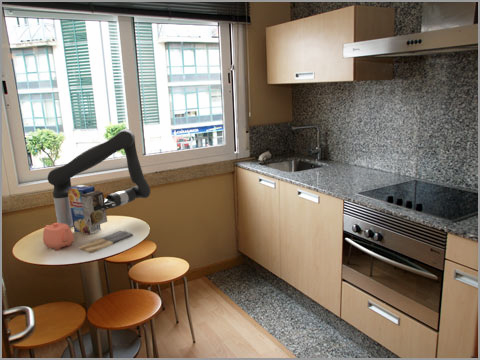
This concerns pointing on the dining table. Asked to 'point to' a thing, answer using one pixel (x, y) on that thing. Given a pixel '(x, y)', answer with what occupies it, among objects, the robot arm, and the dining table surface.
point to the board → (105, 241)
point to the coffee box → (88, 208)
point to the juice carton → (80, 209)
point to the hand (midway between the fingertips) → (90, 207)
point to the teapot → (57, 236)
